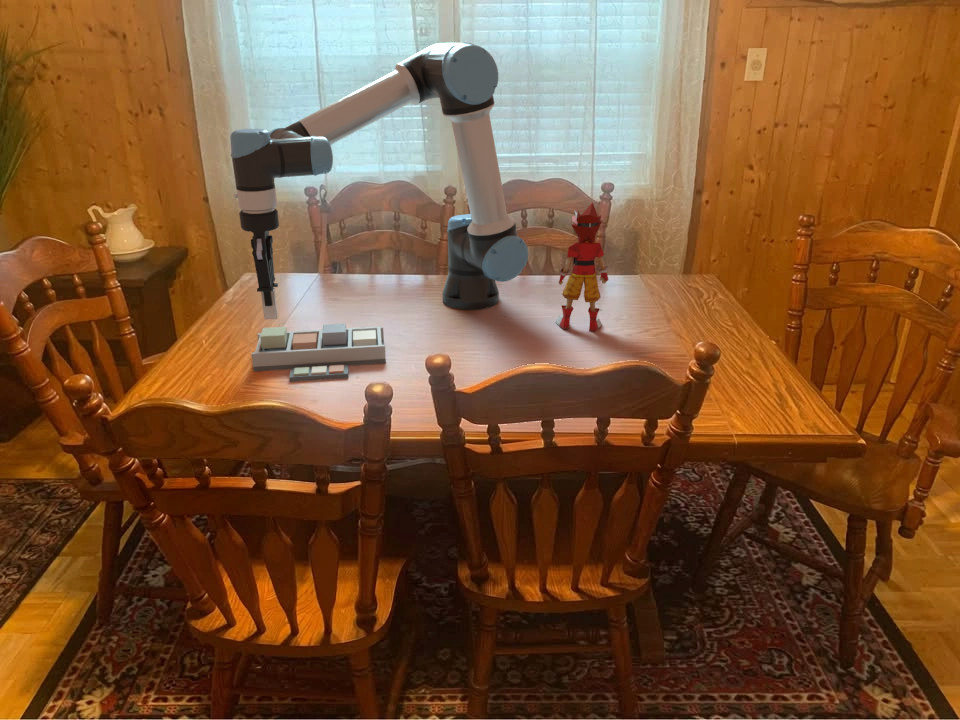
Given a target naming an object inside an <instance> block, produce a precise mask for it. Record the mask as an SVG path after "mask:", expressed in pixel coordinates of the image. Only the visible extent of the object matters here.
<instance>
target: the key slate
mask: <svg viewBox="0 0 960 720" xmlns="http://www.w3.org/2000/svg"><path fill="white" fill-rule="evenodd" d="M346 328H347V324H346V323H345V322H344V323H334V324H333V323H330V324H329V323H327V324H322V329H321V330H322V338H323V345H333V344H346V342H347V333H346Z"/></svg>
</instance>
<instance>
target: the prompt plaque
mask: <svg viewBox="0 0 960 720" xmlns="http://www.w3.org/2000/svg"><path fill="white" fill-rule="evenodd" d="M349 370H350V369H349V366H348V365H333V366H317V367H300V368H291V369H290V373H289V377H288V378H289V382H292V383H293V382H307V381H321V380H322V381H323V380H334V379H338V380H339V379H349Z"/></svg>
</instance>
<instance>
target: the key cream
mask: <svg viewBox="0 0 960 720" xmlns="http://www.w3.org/2000/svg"><path fill="white" fill-rule="evenodd" d="M353 345H354V346H371V345H376V330H367V331H353Z"/></svg>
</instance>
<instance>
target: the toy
mask: <svg viewBox="0 0 960 720" xmlns="http://www.w3.org/2000/svg"><path fill="white" fill-rule="evenodd" d="M573 211H574V214H575V215H572V218H571V222H572V224H571V227H572V228H573V230H574V232H575V234H576V235H577V242H574V243H573V244H571V245H570V246H568V249H567V255H566V257H567V258H566V260H565V264H564V265H563V266H562V267H561V269H560V271H559V273H560V276H559V280H558V285H560V286H562V284H563V281H564V279H565V277H566V276H567V275H568V274H569V273H570V275H569V276H568V279H567V281H566V284H565V287H564V288H563V291H562V294H561V295H562V296H563V297H564V299H566V303H565V304H566V305H561V310H562V314H559V315H558V316H557V318H556V319H555V320H554V322H555V323H556V324H557V325H558V326H559V327H560V328H561V329H563V330H567V329H568V330H569V329H570V323H571V315H572V313H573V312H574V307H573V305H572V304H573V301H578V300H579V298H580V296H581V293H582V289H583V286H584V290H583V297H584V302H585V303H589V307H588V310H587V311H588V315H589V326H588V327H589V328H588V331H589V332H594V333H596V332H597V331H598V330H599V328H600V327H601V326H602V325H603V323H602V322H601V320H600V318H599V317H598V314H599V312H600V308H599V307H598V308H597V307H596V302H598V301H599V300H600V299H601V293H600V289H599V284H598V283H599V282H598V277H597V272H596V264H595V259H596V260H597V263H598V265H599V266H598V267H597V270H598V272H599V273H600V277H599V281H601V284H606V283H607V282H608V281H609V276H608V271H609V267H610V266H609V265H605V261H604V259H603V257H604V256H605V253H604V250H603V248H602V247H603V246H602V244H601V243H600V242H597V241H596V235H597V233H598V231H599V229H600V227H601V224H602V222H603V220H601V219H602V214H600V215H598V213H597V210H596V208H595V205H594V202H591V203H590V205H589V206H588V207H587V208H586V209H585V210H584V211H583V213H582V214H580V212H579V210H577V211H576V210H573ZM572 261H573V265H574V266H573V268H572V271H571V270H570V268H571V265H572Z"/></svg>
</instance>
